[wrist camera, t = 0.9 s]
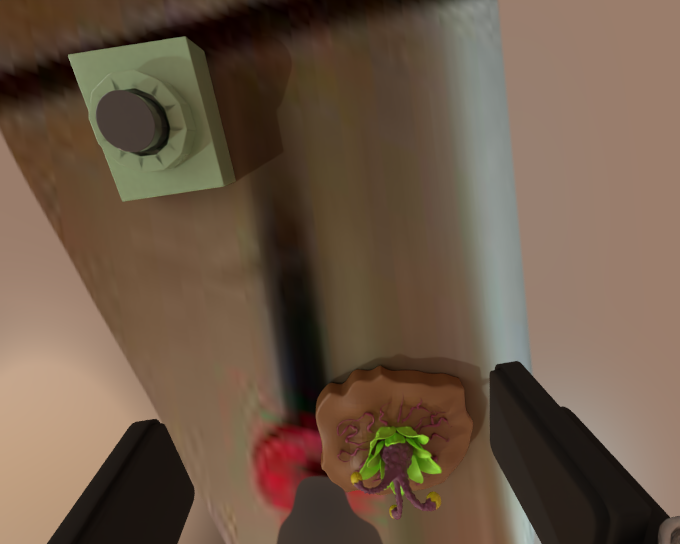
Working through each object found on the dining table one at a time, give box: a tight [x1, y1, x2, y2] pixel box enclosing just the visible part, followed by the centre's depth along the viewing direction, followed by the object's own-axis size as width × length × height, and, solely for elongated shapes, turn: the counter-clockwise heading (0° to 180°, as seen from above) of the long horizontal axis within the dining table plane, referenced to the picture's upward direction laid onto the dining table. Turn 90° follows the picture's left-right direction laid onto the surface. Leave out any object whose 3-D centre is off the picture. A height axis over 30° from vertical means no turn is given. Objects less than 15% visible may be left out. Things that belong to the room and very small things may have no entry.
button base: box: [68, 36, 236, 202], centre depth 28 cm, size 11×9×6 cm
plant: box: [316, 365, 473, 520], centre depth 39 cm, size 20×20×11 cm
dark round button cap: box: [96, 90, 168, 152], centre depth 24 cm, size 4×4×2 cm
